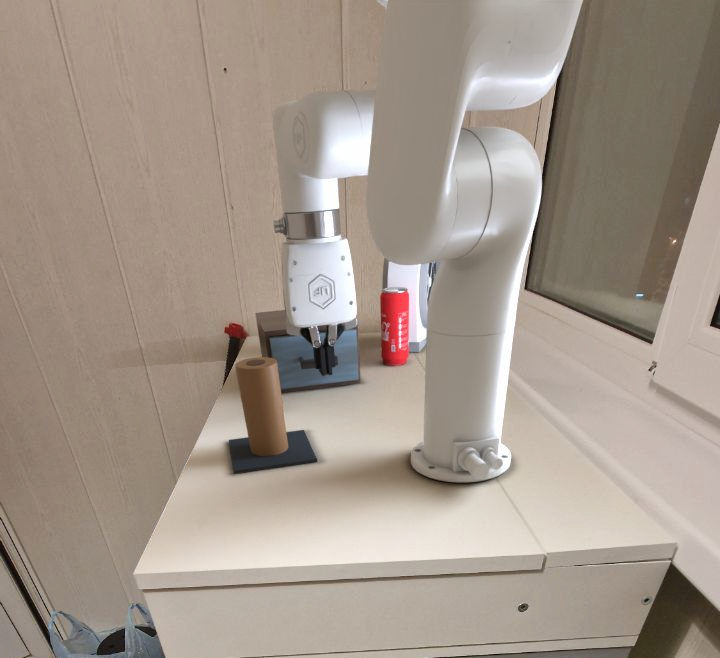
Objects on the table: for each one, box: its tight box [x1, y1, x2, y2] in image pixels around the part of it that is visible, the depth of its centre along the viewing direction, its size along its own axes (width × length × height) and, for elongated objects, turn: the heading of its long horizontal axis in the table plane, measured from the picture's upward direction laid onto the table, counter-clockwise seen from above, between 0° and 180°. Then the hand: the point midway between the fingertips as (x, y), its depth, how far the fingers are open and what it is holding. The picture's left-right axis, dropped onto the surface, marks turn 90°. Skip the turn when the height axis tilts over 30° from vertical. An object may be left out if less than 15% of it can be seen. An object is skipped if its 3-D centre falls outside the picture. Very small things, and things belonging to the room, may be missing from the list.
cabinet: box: [255, 309, 361, 394], centre depth 99 cm, size 16×16×10 cm
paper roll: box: [234, 356, 288, 456], centre depth 73 cm, size 5×5×11 cm
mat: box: [228, 429, 318, 474], centre depth 76 cm, size 11×11×1 cm
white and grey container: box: [381, 257, 441, 353], centre depth 109 cm, size 18×8×20 cm, turn 162°
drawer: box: [269, 328, 359, 389], centre depth 97 cm, size 19×14×8 cm
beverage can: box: [379, 287, 410, 367], centre depth 103 cm, size 5×5×12 cm
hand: (325, 372), depth 87 cm, fingers closed
